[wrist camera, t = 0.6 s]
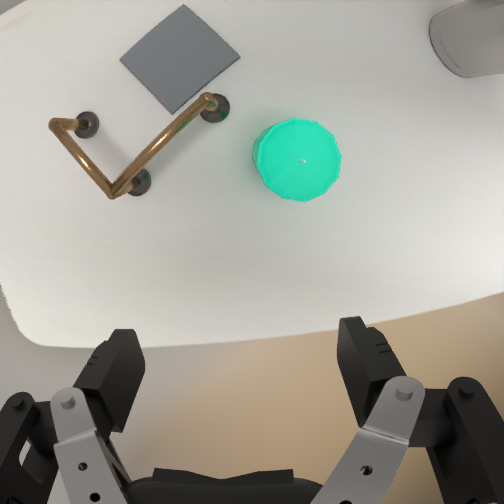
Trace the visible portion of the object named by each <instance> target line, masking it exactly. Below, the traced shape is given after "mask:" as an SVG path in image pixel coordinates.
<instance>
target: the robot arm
mask: <svg viewBox="0 0 504 504" xmlns="http://www.w3.org/2000/svg"><path fill="white" fill-rule="evenodd" d="M430 37H431V41H432V44H433V47H434V49H435V51H436V53H437V54H438V56H439V58H440V59H441V60H442V62H443V63H444V64H445V65H446V66H447V67H448V68H449V69H450V70H451V71H453V72H454V73H455V74H457V75H459V76H462V77H466V78H470V77H477V76H484V75H492V74H500V73H504V0H465V1H463V2H461V3H459V4H457V5H455V6H452V7H450V8H448V9H446V10H445V11H443V12H441V13H439V14H437V15H435V16H434V17H433V19H432V21H431V23H430ZM337 360H338V365H339V368H340V371H341V374H342V376H343V380H344V383H345V386H346V389H347V392H348V395H349V398H350V401H351V404H352V407H353V411H354V414H355V417H356V420H357V423H358V426H359V427H360V429H359V430H358V431H357V433H356V435H355V437H354V438H353V440H352V442H351V443H350V445H349V447H348V448H347V450H346V451H345V453H344V455H343V456H342V458H341V459H340V461H339V463H338V464H337V466H336V468H335V469H334V470H333V472H332V473H331V475H330V476H329V478H328V479H327V481H326V482H325V484H324V485H321V484H319V483H317V482H313V481H310V480H306V479H302V478H294V477H293V469H287V470H275V471H257V472H254V473H249V474H246V475H241V476H237V477H232V478H227V479H216V478H212V477H208V476H204V475H200V474H196V473H193V472H189V471H183V470H171V469H161V468H154V472H153V476H152V477H146V478H142V479H138V480H135V481H132V480H131V478H130V477H129V475H128V473H127V471H126V469H125V467H124V466H123V464H122V462H121V460H120V458H119V456H118V454H117V451H116V449H115V447H114V445H113V443H112V441H111V439H110V438H109V436H110V434H111V431H112V432H119V433H122V432H123V429H124V427H125V424H126V421H127V418H128V416H129V413H130V410H131V407H132V405H133V402H134V399H135V397H136V394H137V391H138V389H139V386H140V383H141V381H142V378H143V375H144V373H145V360H144V356H143V353H142V350H141V347H140V344H139V341H138V338H137V335H136V332H135V331H134V330H133V329H115V330H114V331H113V333H112V335H111V336H110V338H109V340H108V341H104V342H103V343H101V344H100V345H99V346H98V347H97V348H96V349H95V350H94V352H93V354H92V355H91V358H90V359H89V360H88V362H87V365H85V367H84V369H83V370H82V372H81V374H80V375H79V377H78V378H77V380H76V382H75V384H74V385H73V387H68V388H64V389H62V390H60V391H58V392H57V393H56V394H55V395H54V396H53V397H52V399H51V401H45V402H35V401H34V399H33V397H32V396H31V395H30V394H29V393H27V392H19V393H16V394H14V395H12V396H11V397H10V398H9V399H8V400H7V401H6V403H5V404H4V406H3V408H2V409H1V411H0V504H47V502H48V498H49V495H50V492H51V489H52V486H53V483H54V481H55V477H56V475H57V472H58V469H60V472H61V476H62V479H63V482H64V485H65V488H66V491H67V494H68V497H69V500H70V503H71V504H381V503H382V501H383V499H384V498H385V495H386V494H387V492H388V489H389V488H390V485H391V483H392V481H393V479H394V477H395V475H396V473H397V470H398V468H399V466H400V464H401V462H402V459H403V457H404V455H405V452H406V450H407V447H426V450H427V453H428V456H429V458H430V461H431V464H432V467H433V470H434V473H435V476H436V479H437V482H438V485H439V488H440V491H441V494H442V498H443V501H444V504H504V421H503V419H502V417H501V416H500V414H499V412H498V411H497V409H496V407H495V406H494V404H493V402H492V401H491V399H490V397H489V396H488V394H487V393H486V391H485V389H484V388H483V386H482V385H481V384H480V383H479V382H478V381H477V380H475V379H473V378H470V377H458V378H456V379H454V380H452V381H451V383H450V384H449V386H448V388H447V389H427V388H424V386H423V385H422V383H421V382H419V381H418V380H417V379H415V378H412V377H408V376H407V375H406V374H405V372H404V370H403V368H402V366H401V364H400V363H399V361H398V359H397V357H396V356H395V354H394V352H393V351H392V349H391V347H390V345H389V344H388V342H387V340H386V338H385V337H384V335H383V334H382V333H381V332H380V331H378V330H377V329H376V328H374V327H369V328H366V326H365V324H364V322H363V320H362V319H361V317H360V316H355V317H347V318H341V319H340V322H339V332H338V344H337ZM362 427H363V428H362ZM26 440H27V441H28V442H29V443H30V445H31V446H30V449H29V451H28V453H27V455H26V458H25V460H24V462H23V465H22V466H21V464H20V462H19V455H20V452H21V450H22V448H23V446H24V444H25V442H26Z"/></svg>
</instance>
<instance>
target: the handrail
mask: <svg viewBox="0 0 504 504" xmlns="http://www.w3.org/2000/svg"><path fill="white" fill-rule="evenodd" d="M229 110H230V106H229V102H228V100H227V99H226V98H225V97H224V96H223V95H220V94H216V93H213V94H211V93H209V92H205V93H203V94H201V95H200V97H199V98H198V99H197V100H196V101H195V102H194V103H193V104H191V105H190V106H189V107H188V108H187V109H186V110H185V111H184V112H183V113H181V114H180V115H179V116H178V117H177V118H176V119H175V120H174V121H173V122H172V123H171V124H170V125H169V126H168V127H166V128H165V129H164V130H163V131H162V132H161V133H160V134H159V135H158V136H157V137H156V138H155V139H154V140H153V141H152V142H151V143H150V144H149V145H148V146H147V147H146V148H145V149H144V150H143V151H142V152H141V153H140V154H139V155H138V156H137V157H136V159H135V160H134V161H133V162H132V163H131V164H130V165H129V166H128V167H127V168H126V169H125V170H124V171H123V172H122V174H121V175H120V176H119V177H118V178H117V179H116V180H115V181H114V182H113V184H112V183H111V182H110V181H109V180H108V179H107V178H106V176H105V175H104V174H103V173H102V172H101V171H100V170H99V168H98V167H97V166H96V165H95V164H94V163H93V162H92V161H91V159H90V158H89V157H88V156H87V155H86V154H85V152H84V151H83V150H82V149H81V148H80V147H79V146H78V144H77V143H76V142H75V141H74V140H73V138H72V137H71V136H70V135H69V134H68V133H67V131H66V130H74V132H75V134H76V135H77V136H78V137H79V138H90V137H92V136H93V135H94V134H95V133H96V132H97V130H98V126H99V120H98V117H97V116H96V115H95V114H94V113H92V112H82V113H81V114H79V115H78V116H77V118H76V119H67V118H52V119H51V120H50V121H49V124H48V126H49V129H50V130H51V131H52V132H53V133H54V134H55V136H56V137H57V138H58V139H59V141H60V142H61V143H62V144H63V145H64V147H65V148H66V149H67V150H68V151H69V152H70V154H71V155H72V156H73V157H74V158H75V160H76V161H77V162H78V163H79V164H80V165H81V167H82V168H83V169H84V170H85V171H86V172H87V174H88V175H89V176H90V177H91V178H92V179H93V180H94V181H95V183H96V184H97V185H98V186H99V187H100V188H101V189H102V191H103V192H104V193H105V194H106V195H107V197H108V198H109V199H115V198H117V197H119V196H121V195H123V194H125V193H128V194H130V195H132V196H140V195H142V194H144V193H146V192H147V191H148V189H149V188H150V185H151V178H150V175H149V173H148V172H147V171H146V170H145V169H143V167H144V166H145V165H146V164H147V163H148V162H149V161H150V160H151V159H152V158H153V157H154V156H155V155H156V154H157V153H158V152H159V151H160V150H161V149H162V148H163V147H164V146H165V145H166V144H167V143H168V142H169V141H170V140H171V139H172V138H173V137H174V136H175V135H177V134H178V133H179V132H180V131H181V130H182V129H183V128H184V127H185V126H186V125H187V124H188V123H190V122H191V121H192V120H193V119H194V118H195V117H196V116H197V115H198V114H200V115H201V116H202V118H203V119H205V120H206V121H208V122H211V123H217V122H220V121H222V120H224V119H225V118H226V117H227V115H228V113H229Z"/></svg>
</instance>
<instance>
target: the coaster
mask: <svg viewBox="0 0 504 504" xmlns="http://www.w3.org/2000/svg"><path fill="white" fill-rule="evenodd" d="M239 58H240V55H239V54H238V53H237V52H235V51H234V50H233V49H232V48H231V47H230V46H229V45H228V44H227V43H226V42H225V41H224V40H223V39H222V38H221V37H220V36H219V35H218V34H217V33H216V32H215V31H214V30H213V29H211V28H210V27H209V26H208V25H207V24H206V23H205V22H204V21H203V20H202V19H200V18H199V17H198V16H197V15H196V14H195V13H194V12H193V11H191V10H190V9H189V8H188V7H187V6H186V5H184V4H183V5H182V6H181V7H179V8H178V9H177V10H175V11H174V12H173V13H172V14H170V15H169V16H168V17H166V18H165V19H164V20H163V21H162V22H160V23H159V24H158V25H157V26H156V27H154V28H153V29H152V30H151V31H150V32H148V33H147V34H146V35H145V36H144V37H143V38H142V39H141V40H139V41H138V42H137V43H136V44H135V45H134V46H133V47H132V48H131V49H130V50H129V51H128V52H127V53H125V54H124V55H123V56H122V57H121V58H120V59H119V60H120V61H121V62H122V63H123V64H124V65H125V66H126V67H127V68H128V69H129V71H130V72H131V73H132V74H133V75H134V76H135V77H136V78H137V79H138V80H139V81H140V82H141V83H142V84H143V85H144V86H145V87H146V88H147V89H148V90H149V91H150V92H151V93H152V94H153V95H154V96H155V97H156V98H157V99H158V100H159V102H160V103H161V104H162V105H163V106H164V107H165V108H166V109H167V110H168V111H169V112H170V113H171V114H174V113H175V112H176V111H177V110H178V109H179V108H180V107H181V106H183V105H184V104H185V103H186V102H187V101H188V100H189V99H190V98H192V97H193V96H194V95H195V94H196V93H197V92H198V91H200V90H201V89H202V88H203V87H204V86H205V85H207V84H208V83H209V82H210V81H211V80H213V79H214V78H215V77H216V76H218V75H219V74H220V73H221V72H222V71H224V70H225V69H226V68H228V67H229V66H230V65H231V64H233V63H234V62H235V61H237V60H238V59H239Z"/></svg>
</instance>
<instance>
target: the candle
mask: <svg viewBox="0 0 504 504" xmlns="http://www.w3.org/2000/svg"><path fill="white" fill-rule="evenodd" d="M253 160H254V162H255V165H256V167H257V169H258V172H259V174H260V176H261V178H262V179H263V181H264V183H265V185H266V186H267V187H268V188H269V189H271V190H272V191H273V192H275V193H276V194H278V195H279V196H280V197H282V198H283V199H290V200H296V201H301V202H306V201H309V200H311V199H313V198H315V197H317V196H320V195H322V194H324V193H325V192H326V191H327V190H328V189H329V187H330V186H331V185H332V184H333V183H334V182H335V181H336V180H337V179H338V177H339V170H340V163H341V154H340V151H339V148H338V146H337V143H336V141H335V138H334V136H333V135H332V134H331V133H330V132H328V131H327V130H326V129H325V128H324V127H322V126H321V125H320V124H319V123H317V122H316V121H310V120H305V119H299V118H292V119H290V120H287V121H284V122H282V123H279V124H276V125H274V126H272V127H270V128H268V129H266V130H264V131H263V132H262V134H261V135H260V136H259V138H258V139H257V140H256V141H255V143H254V150H253Z"/></svg>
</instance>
